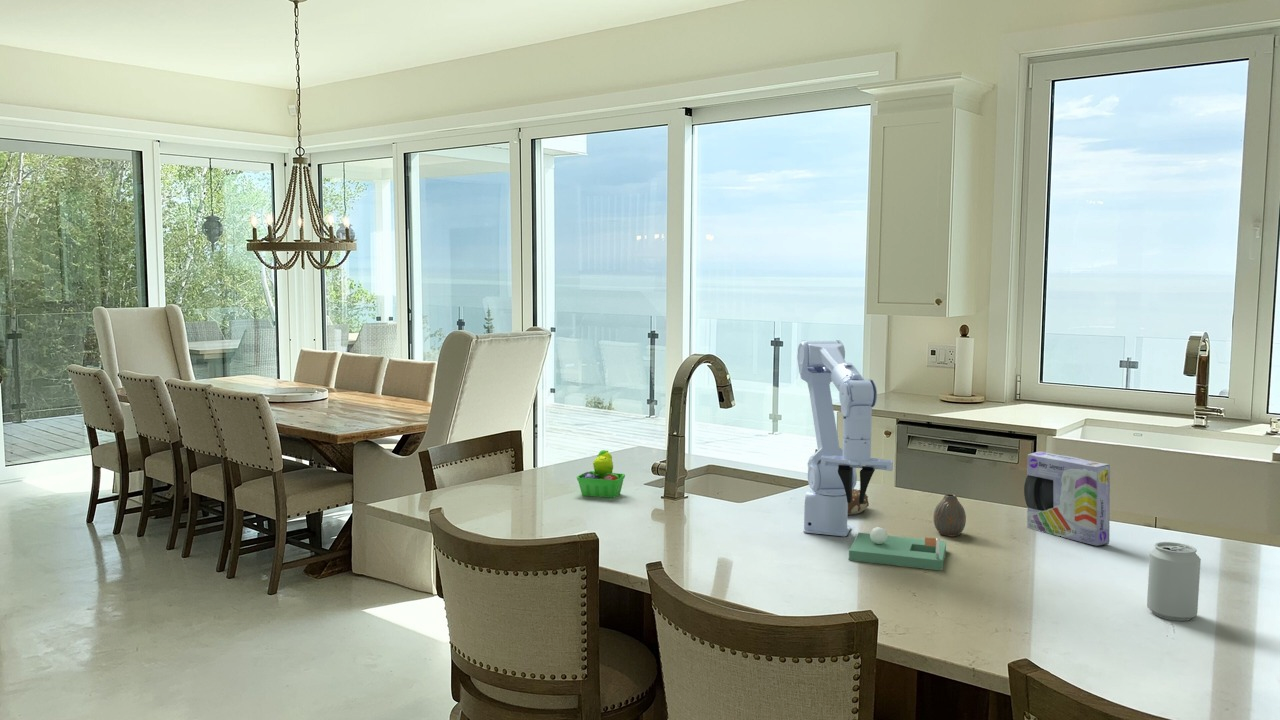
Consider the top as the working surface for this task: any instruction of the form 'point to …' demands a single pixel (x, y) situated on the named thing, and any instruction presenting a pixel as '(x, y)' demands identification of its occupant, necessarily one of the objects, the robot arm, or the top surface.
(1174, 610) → the can
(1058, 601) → the top surface
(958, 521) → the vase
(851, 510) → the donut
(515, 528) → the top surface
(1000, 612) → the top surface
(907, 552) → the board
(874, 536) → the ball
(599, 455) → the fruit basket
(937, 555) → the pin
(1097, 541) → the cake pan box
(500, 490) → the top surface
